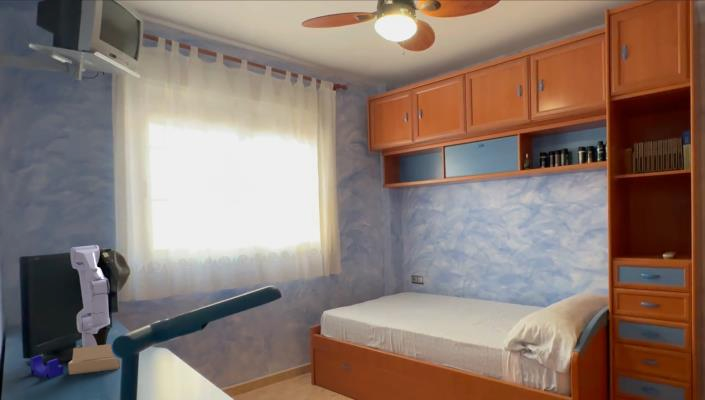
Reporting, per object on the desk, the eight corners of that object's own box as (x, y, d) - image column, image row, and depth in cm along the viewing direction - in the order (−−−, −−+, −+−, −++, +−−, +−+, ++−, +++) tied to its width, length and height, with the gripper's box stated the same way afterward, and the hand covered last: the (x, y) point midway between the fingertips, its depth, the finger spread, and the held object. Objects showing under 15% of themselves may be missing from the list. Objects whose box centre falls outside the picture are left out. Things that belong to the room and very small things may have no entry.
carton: (84, 360, 167) (83, 350, 167) (130, 354, 171) (130, 344, 171) (68, 374, 153) (67, 363, 153) (119, 368, 157) (119, 357, 157)
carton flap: (74, 348, 155) (73, 348, 155) (115, 343, 158) (115, 343, 158) (72, 361, 154) (72, 361, 153) (114, 356, 157) (114, 356, 156)
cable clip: (63, 374, 155) (62, 357, 155) (50, 379, 151) (49, 362, 151) (44, 369, 160) (43, 353, 160) (31, 374, 156) (30, 358, 156)
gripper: (95, 308, 169) (97, 342, 170) (80, 317, 155) (82, 355, 155) (114, 306, 171) (116, 340, 171) (102, 315, 157) (104, 352, 157)
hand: (101, 347), depth 163 cm, fingers closed
